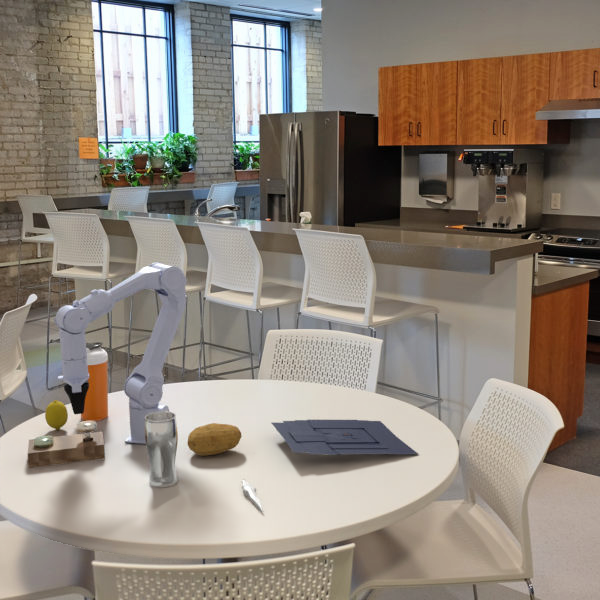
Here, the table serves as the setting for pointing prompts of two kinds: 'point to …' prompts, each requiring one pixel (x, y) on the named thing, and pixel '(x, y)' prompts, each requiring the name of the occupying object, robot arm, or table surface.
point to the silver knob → (87, 428)
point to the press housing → (67, 450)
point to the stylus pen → (251, 493)
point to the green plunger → (43, 441)
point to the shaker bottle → (96, 384)
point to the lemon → (56, 415)
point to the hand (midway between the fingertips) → (78, 413)
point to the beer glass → (161, 447)
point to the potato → (213, 438)
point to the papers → (341, 437)
